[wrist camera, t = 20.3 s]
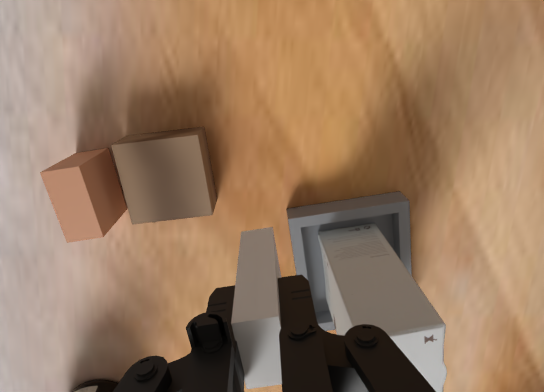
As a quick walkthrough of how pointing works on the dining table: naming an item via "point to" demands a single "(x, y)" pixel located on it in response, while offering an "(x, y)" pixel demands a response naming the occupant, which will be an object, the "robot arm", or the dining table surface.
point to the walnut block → (166, 175)
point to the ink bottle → (96, 386)
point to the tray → (340, 214)
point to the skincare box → (381, 296)
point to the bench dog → (85, 194)
